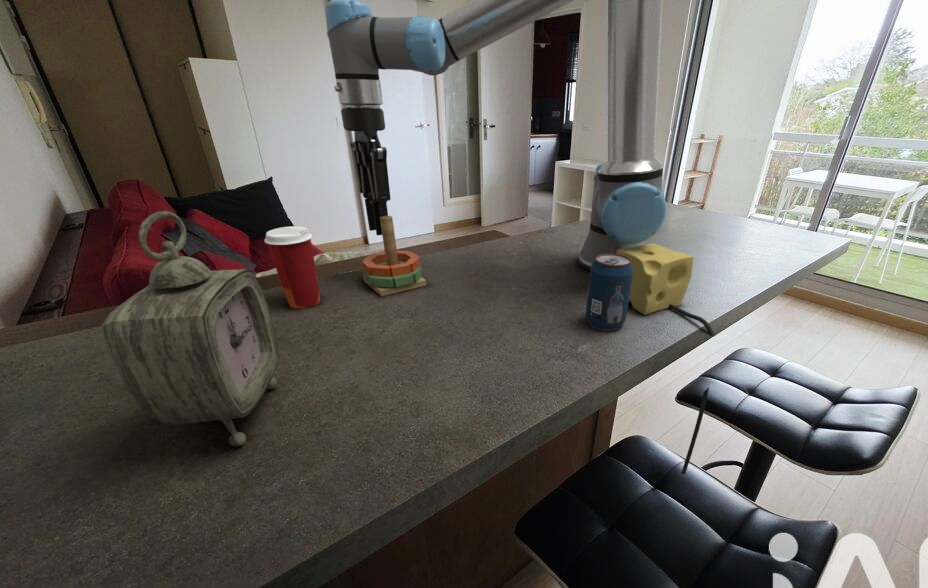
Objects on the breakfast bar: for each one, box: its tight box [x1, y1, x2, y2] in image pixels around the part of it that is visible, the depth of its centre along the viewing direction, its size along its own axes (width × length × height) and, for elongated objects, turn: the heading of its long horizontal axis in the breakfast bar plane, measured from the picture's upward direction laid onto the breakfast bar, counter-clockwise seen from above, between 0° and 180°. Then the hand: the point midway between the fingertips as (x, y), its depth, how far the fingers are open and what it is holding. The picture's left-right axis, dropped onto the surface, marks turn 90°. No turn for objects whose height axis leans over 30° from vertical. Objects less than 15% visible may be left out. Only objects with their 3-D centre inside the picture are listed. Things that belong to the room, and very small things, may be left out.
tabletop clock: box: [101, 210, 280, 448], centre depth 45 cm, size 14×9×25 cm, turn 9°
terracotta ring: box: [361, 250, 421, 277], centre depth 88 cm, size 11×11×2 cm
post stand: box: [363, 215, 427, 297], centre depth 86 cm, size 10×10×14 cm
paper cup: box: [264, 225, 321, 310], centre depth 77 cm, size 8×8×14 cm
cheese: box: [616, 242, 694, 316], centre depth 80 cm, size 10×11×10 cm
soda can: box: [585, 253, 633, 332], centre depth 71 cm, size 7×7×12 cm
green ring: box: [363, 261, 423, 287], centre depth 88 cm, size 11×11×2 cm
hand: (379, 231), depth 88 cm, fingers open, 3 cm apart
